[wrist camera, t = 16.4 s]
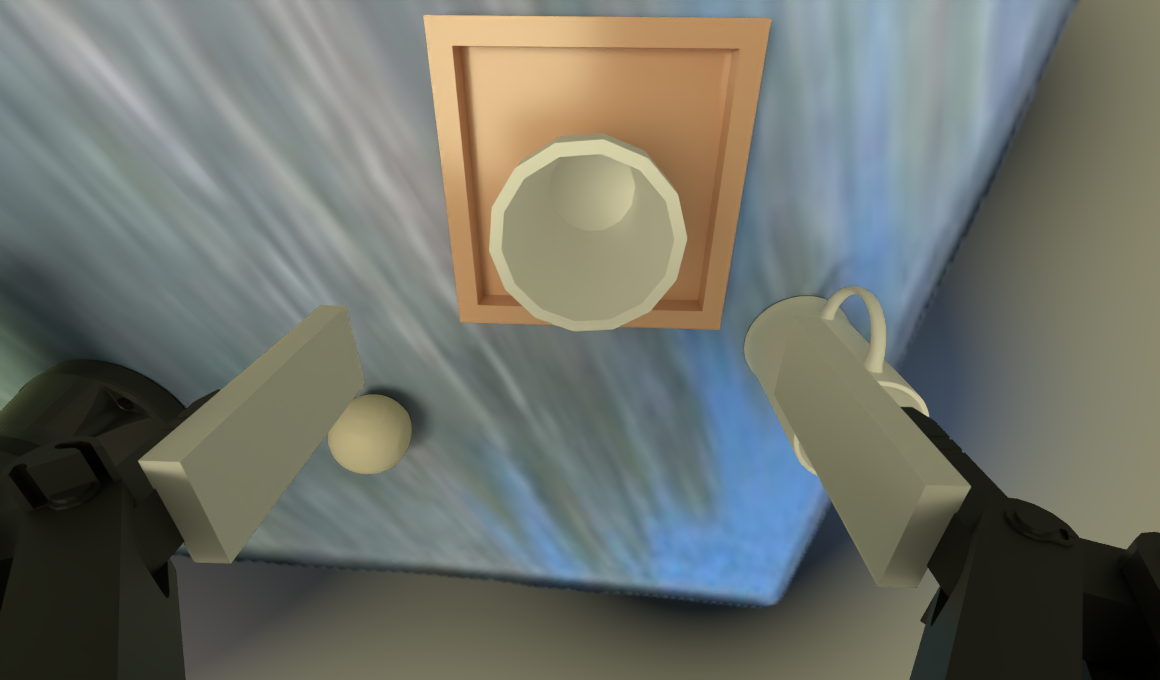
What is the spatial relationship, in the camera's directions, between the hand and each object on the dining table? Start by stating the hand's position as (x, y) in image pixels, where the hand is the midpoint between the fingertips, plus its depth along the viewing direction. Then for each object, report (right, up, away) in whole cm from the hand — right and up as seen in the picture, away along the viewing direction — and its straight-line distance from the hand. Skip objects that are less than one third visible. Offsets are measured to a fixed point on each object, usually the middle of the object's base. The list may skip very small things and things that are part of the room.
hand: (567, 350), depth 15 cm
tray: (+1, +12, +21) cm, 24 cm away
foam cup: (+1, +11, +20) cm, 23 cm away
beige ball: (-18, -6, +32) cm, 38 cm away
